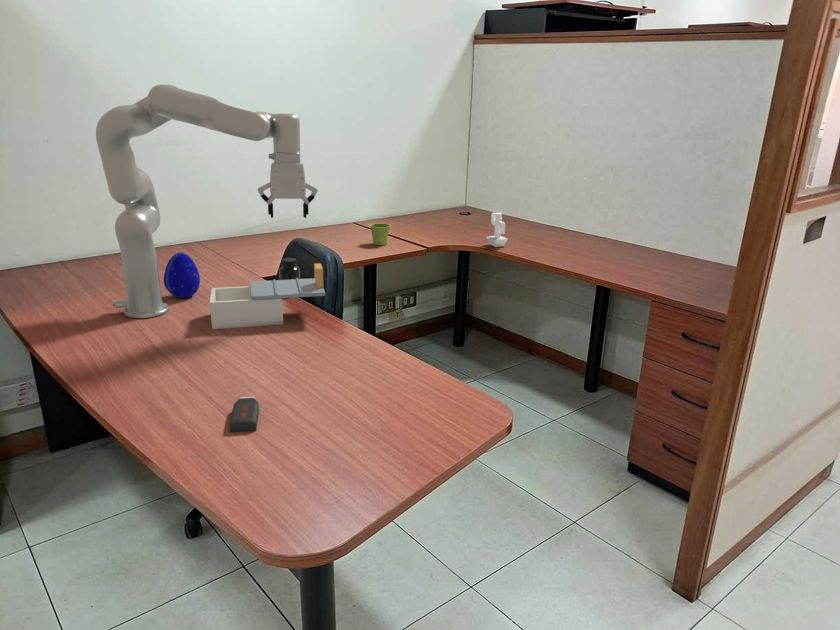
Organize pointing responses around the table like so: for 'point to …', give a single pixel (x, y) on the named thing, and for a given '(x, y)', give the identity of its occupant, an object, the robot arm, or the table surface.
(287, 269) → the supplement bottle
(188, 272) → the ornament
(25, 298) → the table surface
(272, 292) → the tub lid
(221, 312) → the box
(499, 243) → the figurine
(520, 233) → the table surface
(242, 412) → the usb drive
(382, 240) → the plant pot
